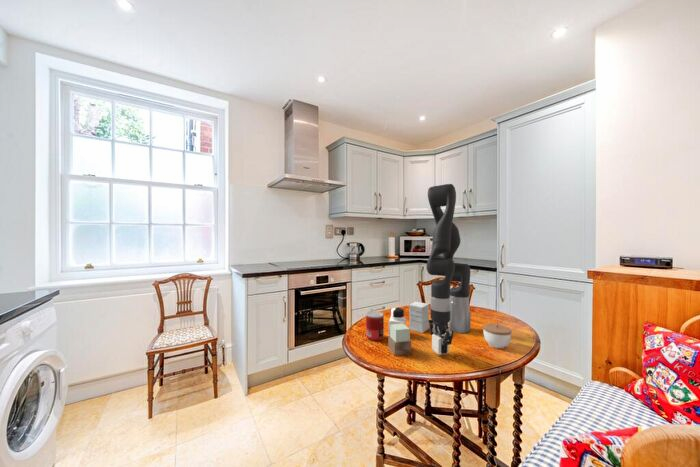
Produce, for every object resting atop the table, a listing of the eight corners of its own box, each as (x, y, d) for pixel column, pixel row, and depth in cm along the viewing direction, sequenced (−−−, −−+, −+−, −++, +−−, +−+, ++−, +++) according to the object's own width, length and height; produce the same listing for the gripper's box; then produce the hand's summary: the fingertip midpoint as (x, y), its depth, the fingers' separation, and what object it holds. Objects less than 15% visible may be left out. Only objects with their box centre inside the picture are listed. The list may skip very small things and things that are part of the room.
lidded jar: (503, 353, 103) (503, 330, 103) (477, 343, 112) (477, 322, 112) (516, 347, 109) (516, 325, 109) (491, 338, 118) (491, 318, 118)
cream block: (442, 347, 105) (442, 333, 105) (448, 353, 100) (448, 338, 100) (431, 349, 104) (432, 334, 104) (438, 354, 99) (438, 339, 99)
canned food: (382, 341, 113) (383, 317, 113) (365, 340, 115) (365, 315, 115) (384, 335, 121) (384, 311, 121) (367, 333, 122) (367, 310, 122)
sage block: (403, 335, 109) (403, 323, 109) (409, 341, 103) (409, 328, 103) (390, 336, 108) (390, 324, 108) (395, 342, 102) (396, 330, 102)
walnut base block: (403, 346, 110) (403, 334, 110) (411, 353, 103) (411, 341, 103) (388, 347, 108) (388, 336, 108) (394, 355, 101) (394, 343, 101)
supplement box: (415, 325, 134) (415, 301, 133) (429, 328, 129) (429, 303, 129) (408, 329, 128) (408, 304, 128) (422, 333, 123) (422, 307, 123)
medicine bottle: (405, 331, 125) (405, 307, 125) (403, 337, 118) (404, 311, 118) (391, 329, 127) (391, 305, 127) (388, 335, 120) (388, 310, 120)
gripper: (460, 312, 96) (460, 358, 96) (438, 302, 110) (438, 341, 110) (442, 314, 94) (442, 360, 94) (422, 303, 108) (422, 343, 108)
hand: (440, 350), depth 102 cm, fingers closed on cream block, 4 cm apart
